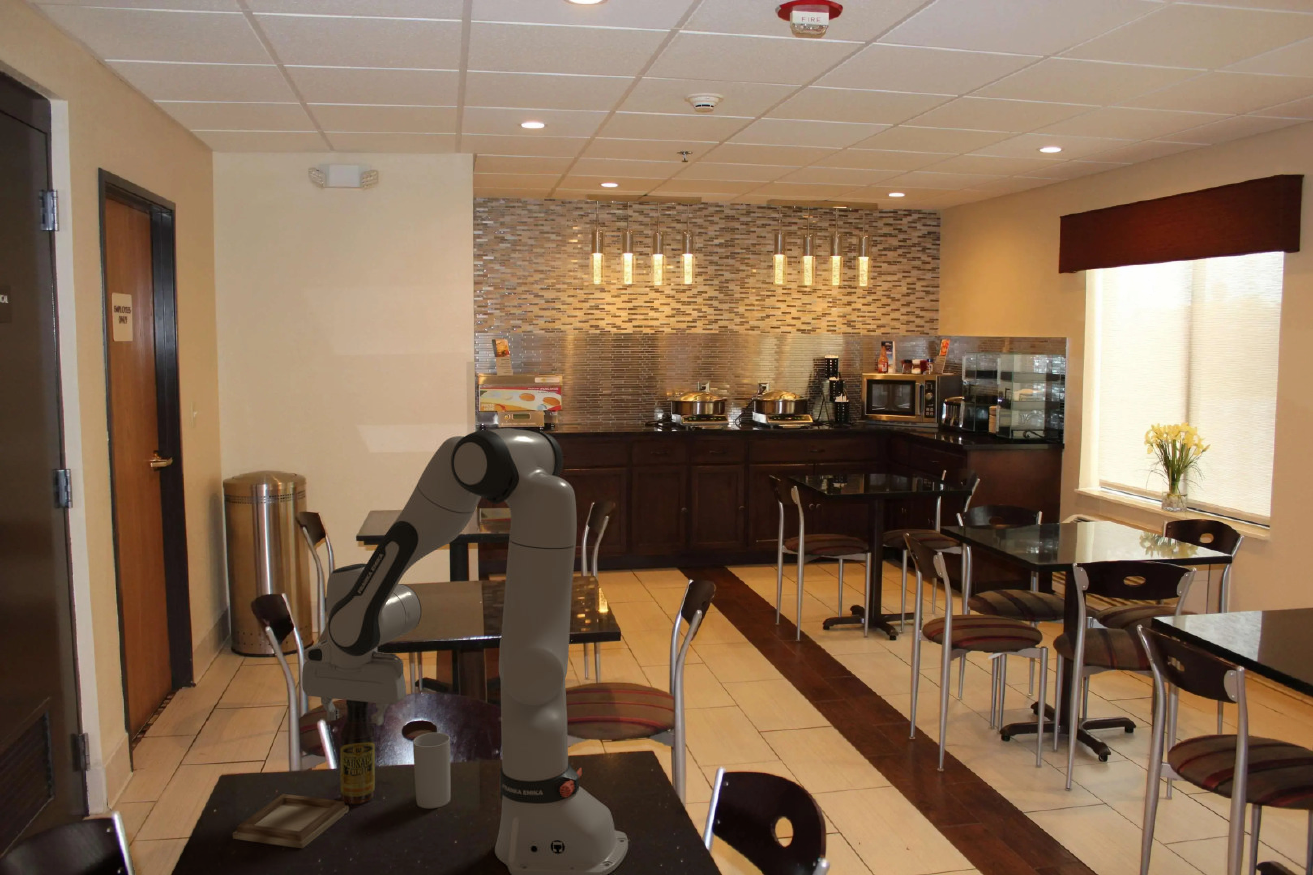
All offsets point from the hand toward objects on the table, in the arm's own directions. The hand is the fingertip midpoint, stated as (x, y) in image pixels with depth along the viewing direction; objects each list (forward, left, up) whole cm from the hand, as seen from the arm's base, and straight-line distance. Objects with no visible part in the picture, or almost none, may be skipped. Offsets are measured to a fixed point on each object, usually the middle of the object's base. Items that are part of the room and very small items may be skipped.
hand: (355, 721), depth 187 cm
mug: (-14, -4, -15) cm, 21 cm away
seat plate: (+6, +12, -15) cm, 20 cm away
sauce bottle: (0, 0, -15) cm, 15 cm away
